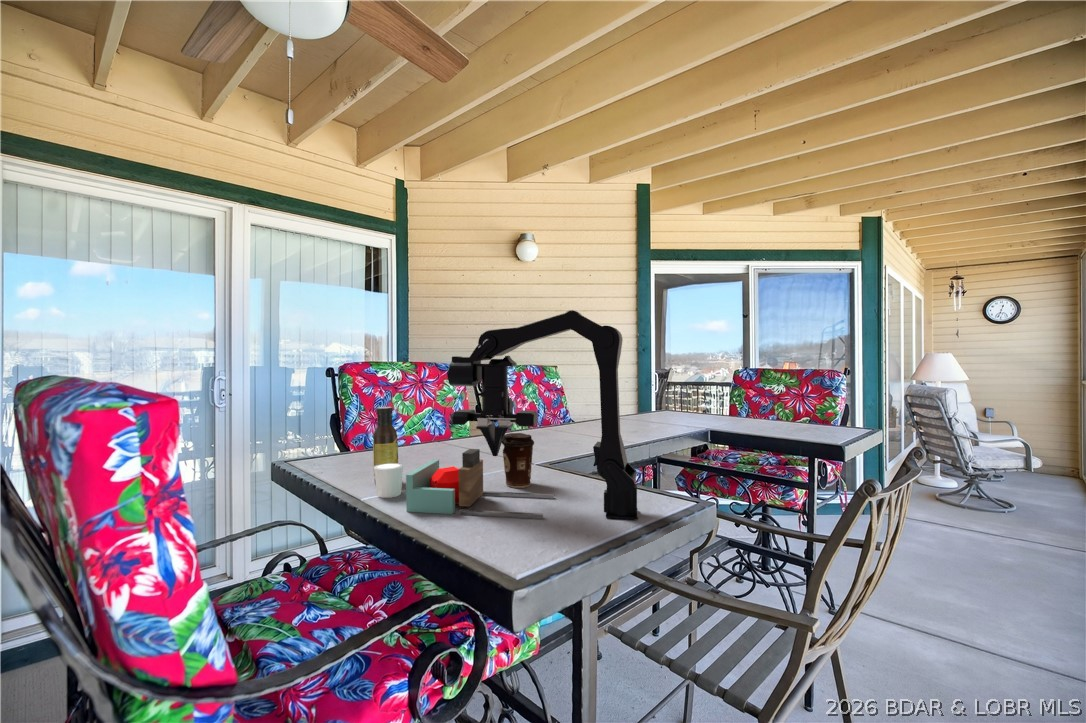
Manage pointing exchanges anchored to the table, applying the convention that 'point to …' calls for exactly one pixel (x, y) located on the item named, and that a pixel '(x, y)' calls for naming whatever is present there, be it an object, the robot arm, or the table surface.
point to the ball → (446, 480)
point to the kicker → (470, 477)
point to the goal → (427, 492)
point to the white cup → (388, 479)
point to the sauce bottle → (385, 438)
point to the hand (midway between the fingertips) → (495, 455)
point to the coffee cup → (517, 459)
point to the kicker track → (508, 514)
